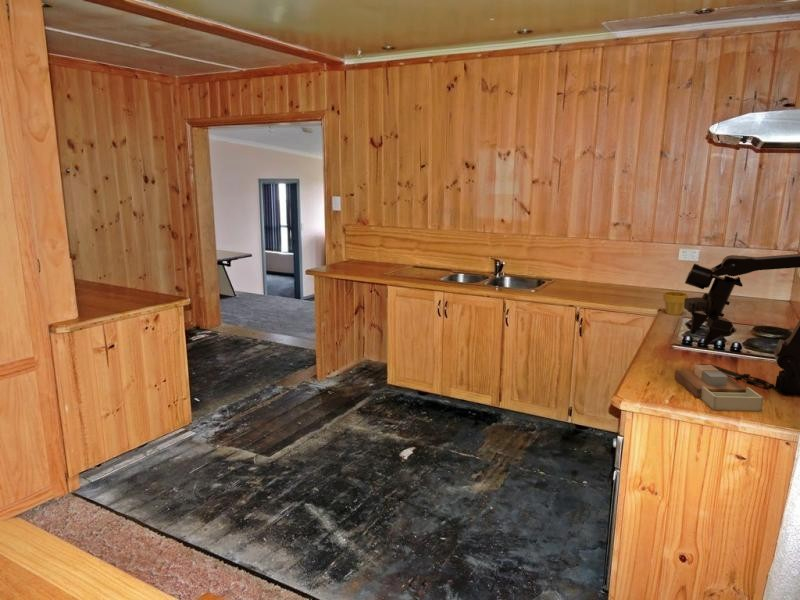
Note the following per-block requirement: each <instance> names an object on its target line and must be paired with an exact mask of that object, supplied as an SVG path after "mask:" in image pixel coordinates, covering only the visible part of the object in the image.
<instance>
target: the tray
mask: <svg viewBox="0 0 800 600" xmlns="http://www.w3.org/2000/svg"><path fill="white" fill-rule="evenodd" d="M745 389H746V393H724V392H710V391H709V390H708V389H707V388H705V387H704V386H702V393H701V398H700V400H701V399H702V400H701V401H703V402H704V404H706V405H707V406H708V407H709V408H710V409H711V410H713V411H729V412H730V411H731V412H733V411H736V412H738V411H739V412H745V411H746V412H747V411H748V412H763V411H762V410H763V404H764V397H763V396H761V395H760V394H759V393H757V392H756V391H755V390H753V389H752V388H751V387H749V386H746V387H745Z"/></svg>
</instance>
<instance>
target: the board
mask: <svg viewBox="0 0 800 600" xmlns="http://www.w3.org/2000/svg"><path fill="white" fill-rule="evenodd" d="M720 372H721V371H720ZM722 373H723V372H722ZM723 374H724V373H723ZM725 375H726V374H725ZM726 376H727V377H728V379H727V386H709V385H708V384H706V383H705V382H704V381H703V380H702V379H700V378H699V377H698V376H696V375H695V374H694V370H691V369H690V370H687V369H686V370H685V369H684V370H677V369H675V373H674V377H675V378H674V380H675V379H676V381H677V382H678V383H679V385H681V386H682V385H683V386H684V387H685V388H684V387H683V386H682V387H683V388H684V389H685V390H686V391H687V392H689V393H690V392H691V393H692V394H693V395H694V396H693V395H692V394H691V393H690V394H691V395H692V396H693V397H694V398H696V399H701V393H702V386H704V387H705V388H707V389H708V390H709V391H710V392H724V393H746V387H744V386H743V385H742V384H740V383H738V382H737V381H736V380H734V379H733V378H732V377H731V376H728V375H726Z"/></svg>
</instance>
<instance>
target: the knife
mask: <svg viewBox="0 0 800 600" xmlns="http://www.w3.org/2000/svg"><path fill="white" fill-rule="evenodd" d="M698 365H710V364H709V363H708V364H707V363H701V362H699V363H698ZM711 365H712V366H713V367H715V368H716V369H718V370H719V371H721V372H723V373H724V374H726V375H727V376H728V377H730V378H734V379H735V381H742V380H743V381H745V382H746V384H747V385H751V386H753V387H755V386H756V385H758V386H762V389H763V390H769V389H774V388H773V387H774V386H775V384H774V383H770V382H768V381H767V380H765V379H762V378H759V377H754V376H751V374H750V373H742V374H741V373H738V372H735V371H732V370H729V369H726V368H723V367H720V366H717V365H713V364H711ZM749 378H751V379H749Z"/></svg>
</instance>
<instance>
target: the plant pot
mask: <svg viewBox="0 0 800 600" xmlns="http://www.w3.org/2000/svg"><path fill="white" fill-rule="evenodd" d="M662 297H663V298H662V299H663V301H664V305H665V313H666V314H667V315H672V316H681V315H682V313H683V311H684V310H685V309H684V301H685V298H689V294H688V293H687V292H683V291H665V292H663V295H662Z"/></svg>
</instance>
